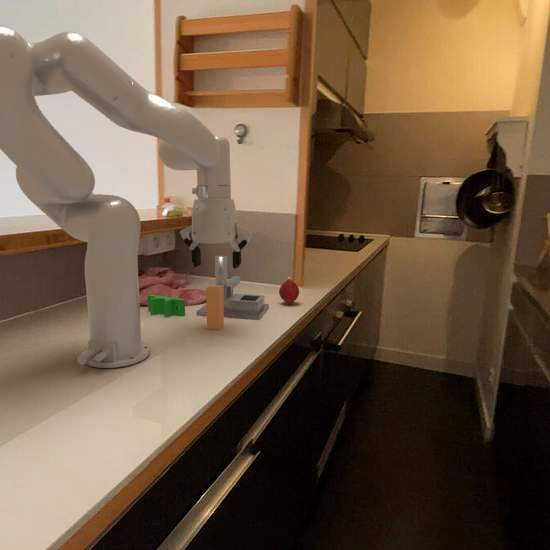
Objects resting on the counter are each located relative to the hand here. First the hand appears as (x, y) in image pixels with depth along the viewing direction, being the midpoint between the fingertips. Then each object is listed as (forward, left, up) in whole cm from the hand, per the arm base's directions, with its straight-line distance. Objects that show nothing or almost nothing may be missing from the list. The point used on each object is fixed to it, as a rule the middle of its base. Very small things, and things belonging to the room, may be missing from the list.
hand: (216, 266), depth 102 cm
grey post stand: (+18, 0, -15) cm, 24 cm away
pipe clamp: (+6, +17, -15) cm, 24 cm away
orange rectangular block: (-1, 0, -15) cm, 15 cm away
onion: (+24, -14, -15) cm, 32 cm away
